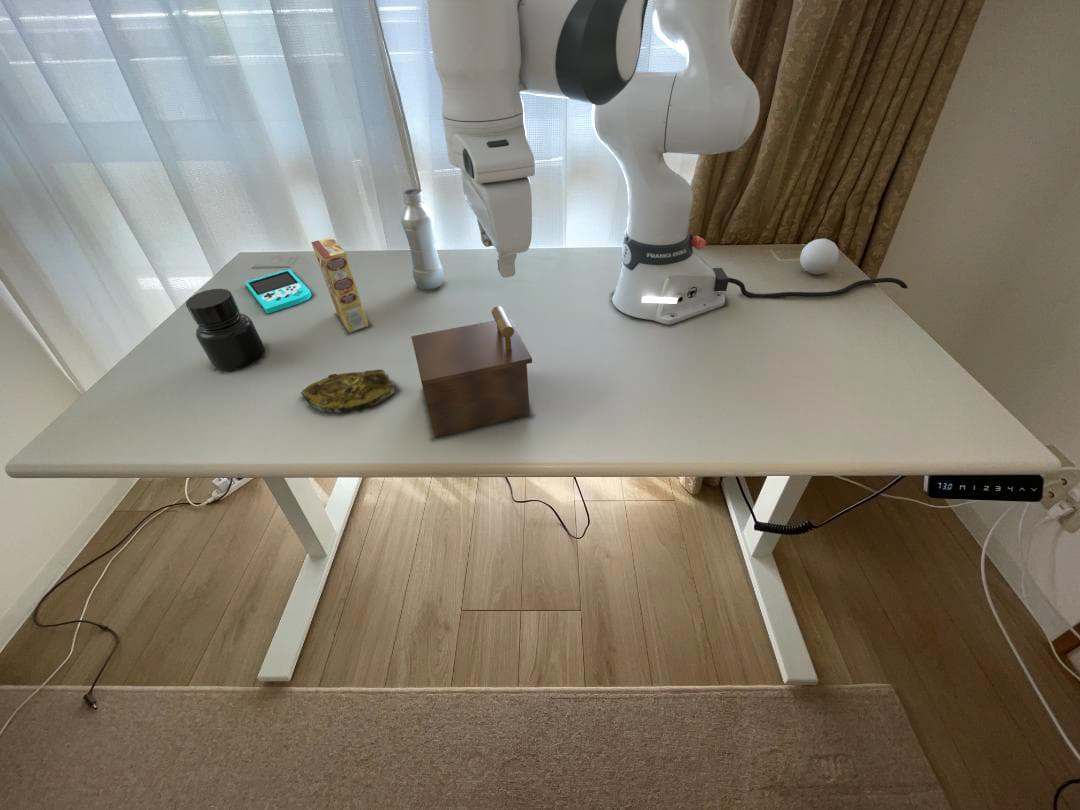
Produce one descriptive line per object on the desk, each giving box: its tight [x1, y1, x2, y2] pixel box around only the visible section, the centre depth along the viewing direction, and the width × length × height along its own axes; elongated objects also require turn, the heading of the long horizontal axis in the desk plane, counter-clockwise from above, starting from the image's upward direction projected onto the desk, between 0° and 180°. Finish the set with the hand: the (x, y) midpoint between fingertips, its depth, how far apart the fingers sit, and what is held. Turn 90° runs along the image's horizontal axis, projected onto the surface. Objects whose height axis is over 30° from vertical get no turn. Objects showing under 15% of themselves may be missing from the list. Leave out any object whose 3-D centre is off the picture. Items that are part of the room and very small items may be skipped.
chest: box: [421, 364, 531, 438], centre depth 74 cm, size 15×12×10 cm
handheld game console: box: [245, 268, 312, 315], centre depth 107 cm, size 10×16×1 cm, turn 39°
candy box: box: [311, 236, 369, 333], centre depth 93 cm, size 9×4×15 cm, turn 33°
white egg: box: [799, 238, 840, 275], centre depth 106 cm, size 10×7×7 cm
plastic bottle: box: [400, 188, 445, 290], centre depth 101 cm, size 6×7×20 cm
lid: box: [410, 305, 533, 387], centre depth 70 cm, size 15×12×5 cm
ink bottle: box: [185, 288, 266, 371], centre depth 85 cm, size 10×9×12 cm
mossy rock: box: [300, 369, 396, 414], centre depth 79 cm, size 9×5×15 cm
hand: (497, 258), depth 64 cm, fingers open, 8 cm apart
